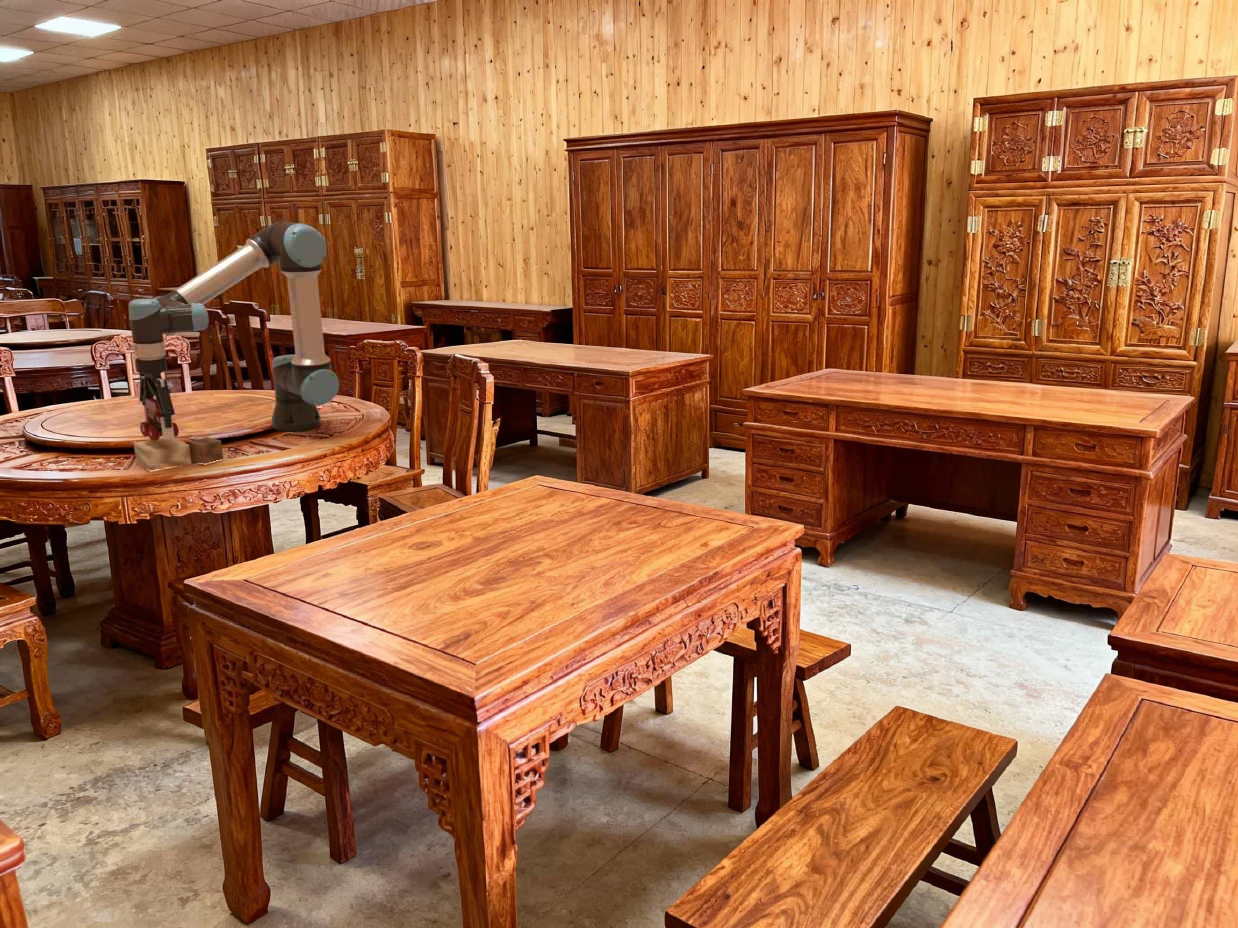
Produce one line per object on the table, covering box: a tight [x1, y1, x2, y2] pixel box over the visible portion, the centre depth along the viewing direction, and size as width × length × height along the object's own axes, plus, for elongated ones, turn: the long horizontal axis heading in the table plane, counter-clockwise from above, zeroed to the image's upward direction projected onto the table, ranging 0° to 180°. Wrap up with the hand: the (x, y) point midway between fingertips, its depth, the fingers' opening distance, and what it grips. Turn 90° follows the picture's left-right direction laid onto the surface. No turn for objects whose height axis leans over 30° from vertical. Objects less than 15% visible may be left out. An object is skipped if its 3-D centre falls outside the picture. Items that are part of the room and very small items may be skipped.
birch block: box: [133, 436, 192, 470], centre depth 258 cm, size 11×11×6 cm
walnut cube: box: [188, 436, 224, 464], centre depth 261 cm, size 6×6×6 cm
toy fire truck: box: [139, 397, 180, 441], centre depth 255 cm, size 7×12×10 cm, turn 48°
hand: (160, 433), depth 256 cm, fingers closed on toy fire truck, 12 cm apart
